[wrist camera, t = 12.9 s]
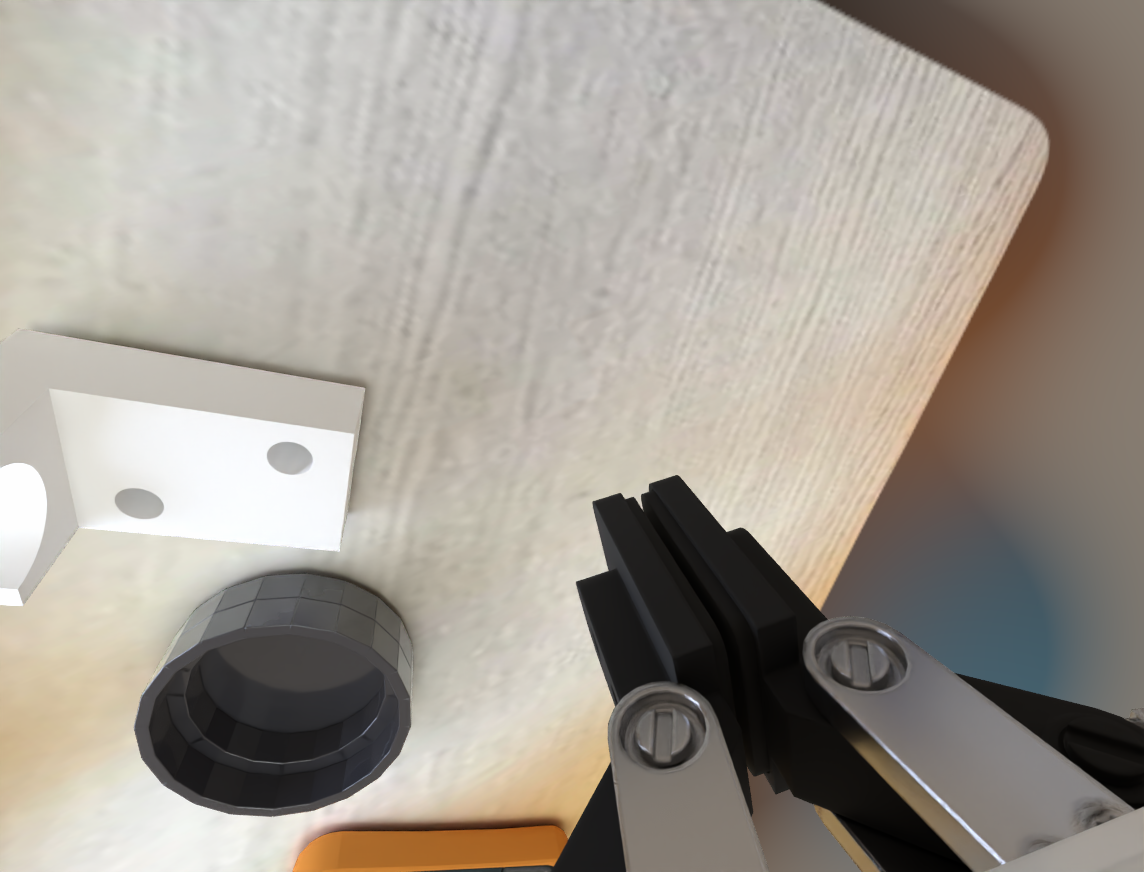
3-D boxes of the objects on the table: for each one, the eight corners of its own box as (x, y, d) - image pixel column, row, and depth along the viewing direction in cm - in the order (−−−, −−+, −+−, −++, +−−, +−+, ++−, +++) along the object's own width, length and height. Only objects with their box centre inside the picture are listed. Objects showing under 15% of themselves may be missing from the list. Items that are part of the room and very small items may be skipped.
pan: (125, 614, 29) (78, 681, 25) (367, 538, 31) (357, 590, 27) (238, 770, 35) (213, 847, 30) (440, 699, 36) (442, 764, 32)
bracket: (50, 465, 27) (-67, 600, 21) (18, 328, 23) (-136, 445, 17) (350, 500, 31) (323, 623, 25) (365, 387, 27) (338, 500, 21)
